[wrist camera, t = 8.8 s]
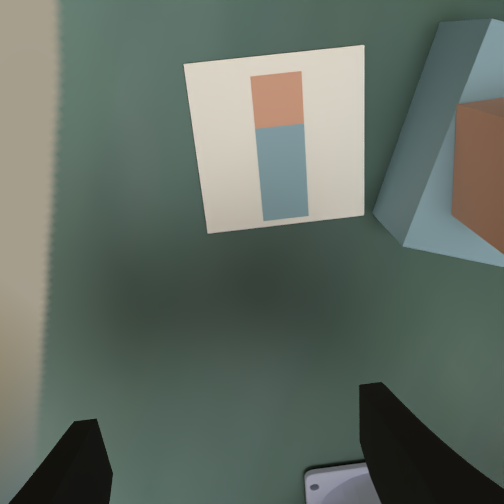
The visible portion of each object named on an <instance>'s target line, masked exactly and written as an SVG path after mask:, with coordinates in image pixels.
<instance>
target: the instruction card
mask: <svg viewBox="0 0 504 504" xmlns="http://www.w3.org/2000/svg"><path fill="white" fill-rule="evenodd" d="M184 71H185V78H186V85H187V92H188V99H189V106H190V113H191V120H192V127H193V134H194V141H195V148H196V155H197V162H198V169H199V176H200V183H201V190H202V197H203V204H204V211H205V218H206V225H207V232H208V234H209V233H217V232H226V231H234V230H243V229H251V228H260V227H268V226H277V225H286V224H294V223H303V222H311V221H320V220H328V219H337V218H345V217H354V216H362V215H364V45H358V46H349V47H339V48H330V49H320V50H311V51H301V52H292V53H282V54H273V55H263V56H254V57H244V58H235V59H226V60H216V61H207V62H197V63H188V64H184Z"/></svg>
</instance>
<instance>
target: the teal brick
mask: <svg viewBox="0 0 504 504" xmlns="http://www.w3.org/2000/svg"><path fill="white" fill-rule="evenodd" d="M503 97H504V22H502V21H499V20H496V19H492V18H490V19H476V20H462V21H447V22H440V23H439V26H438V29H437V32H436V35H435V37H434V40H433V43H432V46H431V49H430V51H429V54H428V57H427V60H426V63H425V65H424V68H423V71H422V74H421V77H420V79H419V82H418V85H417V88H416V91H415V94H414V96H413V99H412V102H411V105H410V108H409V110H408V113H407V116H406V119H405V122H404V124H403V127H402V130H401V133H400V136H399V138H398V141H397V144H396V147H395V150H394V153H393V155H392V158H391V161H390V164H389V167H388V169H387V172H386V175H385V178H384V181H383V183H382V186H381V189H380V192H379V195H378V198H377V200H376V203H375V206H374V209H373V212H372V214H373V215H374V216H375V217H376V218H377V219H378V220H379V221H380V223H381V224H382V225H383V226H384V227H385V228H386V229H387V230H388V231H389V232H390V233H391V234H392V236H393V237H394V238H395V239H396V240H397V241H398V242H399V243H400V244H401V245H402V246H404V247H409V248H413V249H418V250H423V251H428V252H433V253H438V254H443V255H448V256H452V257H457V258H462V259H467V260H472V261H477V262H482V263H487V264H492V265H496V266H501V267H504V255H503V254H502V253H501V252H499V251H498V250H497V249H496V248H494V247H493V246H492V245H490V244H489V243H488V242H486V241H485V240H484V239H482V238H481V237H480V236H478V235H477V234H476V233H474V232H473V231H472V230H470V229H469V228H468V227H467V226H465V225H464V224H463V223H461V222H460V221H459V220H457V219H456V218H455V217H453V216H452V195H453V174H454V152H455V130H456V109H457V104H463V103H469V102H476V101H483V100H490V99H497V98H503Z"/></svg>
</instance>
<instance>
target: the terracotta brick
mask: <svg viewBox="0 0 504 504" xmlns="http://www.w3.org/2000/svg"><path fill="white" fill-rule="evenodd" d="M452 216H453V217H455V218H456V219H457V220H459V221H460V222H461V223H463V224H464V225H465V226H467V227H468V228H469V229H470V230H472V231H473V232H474V233H476V234H477V235H478V236H480V237H481V238H482V239H484V240H485V241H486V242H488V243H489V244H490V245H492V246H493V247H494V248H496V249H497V250H498V251H499V252H501V253H502V254H503V255H504V97H503V98H497V99H490V100H483V101H476V102H469V103H463V104H457V109H456V130H455V152H454V174H453V195H452Z"/></svg>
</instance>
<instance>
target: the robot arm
mask: <svg viewBox="0 0 504 504" xmlns="http://www.w3.org/2000/svg"><path fill="white" fill-rule="evenodd" d="M359 408H360V444H361V447H362V451H363V454H364V458H365V461H366V462H365V463H358V464H350V465H343V466H335V467H328V468H320V469H313V470H309V471H308V472H306V474H305V476H304V479H305V494H306V504H504V489H503V488H502V487H500V486H499V485H497V484H496V483H495V482H493V481H492V480H490V479H489V478H488V477H486V476H485V475H484V474H482V473H481V472H480V471H478V470H477V469H476V468H474V467H473V466H472V465H471V464H469V463H468V462H467V461H466V460H464V459H463V458H462V457H461V456H459V455H458V454H457V453H456V452H455V451H453V450H452V449H451V448H450V447H449V446H448V445H446V444H445V443H444V442H443V441H442V440H441V439H440V438H438V437H437V436H436V435H435V434H434V433H433V432H432V431H431V430H430V429H429V428H428V427H426V426H425V425H424V424H423V423H422V422H421V421H420V420H419V419H418V418H417V417H416V416H415V415H414V414H413V413H412V412H411V411H410V410H409V409H408V408H407V407H406V406H405V405H404V404H403V403H402V402H401V401H400V400H399V399H398V398H397V397H396V396H395V395H394V394H393V393H392V392H391V391H390V390H389V389H388V388H387V387H386V386H385V385H384V384H383V383H382V382H378V383H370V384H362V385H359ZM112 477H113V472H112V469H111V465H110V462H109V459H108V455H107V452H106V448H105V445H104V442H103V438H102V435H101V432H100V428H99V425H98V421H97V419H90V420H82V421H74V422H73V424H72V425H71V426H70V427H69V428H68V430H67V431H66V432H65V434H64V435H63V436H62V437H61V439H60V440H59V441H58V443H57V444H56V445H55V447H54V448H53V449H52V451H51V452H50V453H49V454H48V456H47V457H46V458H45V460H44V461H43V462H42V463H41V465H40V466H39V467H38V468H37V470H36V471H35V472H34V473H33V475H32V476H31V477H30V478H29V480H28V481H27V482H26V483H25V485H24V486H23V487H22V488H21V490H20V491H19V492H18V493H17V494H16V496H15V497H14V498H13V499H12V500H11V501H10V502H9V504H109V501H110V494H111V485H112ZM313 484H314V485H313Z"/></svg>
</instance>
